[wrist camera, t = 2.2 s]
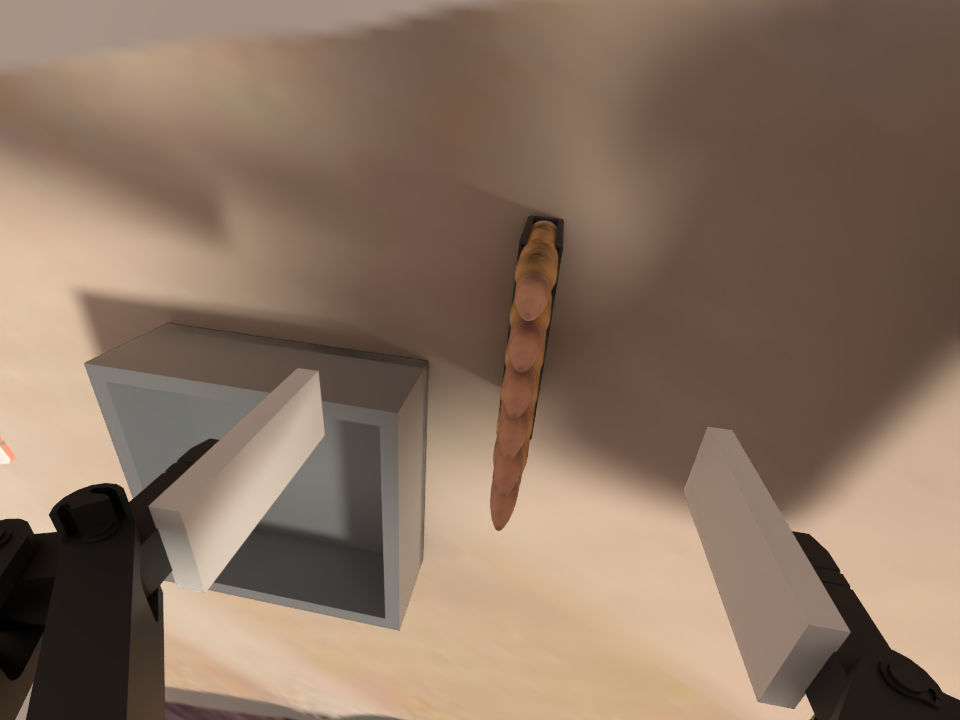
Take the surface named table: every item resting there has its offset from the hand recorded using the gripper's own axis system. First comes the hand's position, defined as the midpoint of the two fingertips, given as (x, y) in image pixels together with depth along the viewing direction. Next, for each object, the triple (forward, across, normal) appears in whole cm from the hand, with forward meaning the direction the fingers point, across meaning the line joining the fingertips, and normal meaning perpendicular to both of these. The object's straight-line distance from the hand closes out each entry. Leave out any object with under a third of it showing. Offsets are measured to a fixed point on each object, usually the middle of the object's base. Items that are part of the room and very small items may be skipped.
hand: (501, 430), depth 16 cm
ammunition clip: (+12, -1, 0) cm, 12 cm away
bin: (+12, +14, +13) cm, 23 cm away
